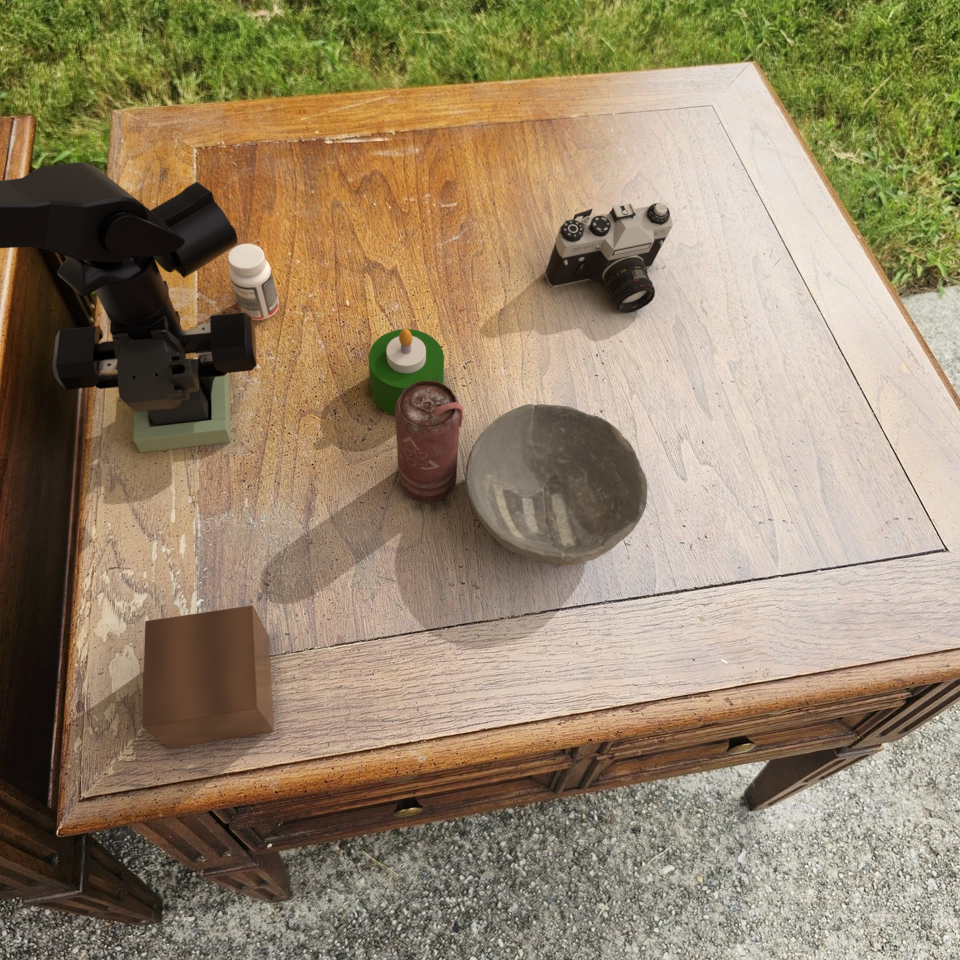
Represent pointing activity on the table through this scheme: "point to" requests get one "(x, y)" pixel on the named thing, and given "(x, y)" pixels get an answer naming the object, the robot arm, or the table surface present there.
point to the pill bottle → (253, 281)
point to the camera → (612, 252)
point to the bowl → (555, 484)
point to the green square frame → (188, 425)
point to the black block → (183, 409)
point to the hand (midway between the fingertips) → (180, 399)
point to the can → (427, 440)
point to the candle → (402, 364)
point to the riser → (207, 677)
